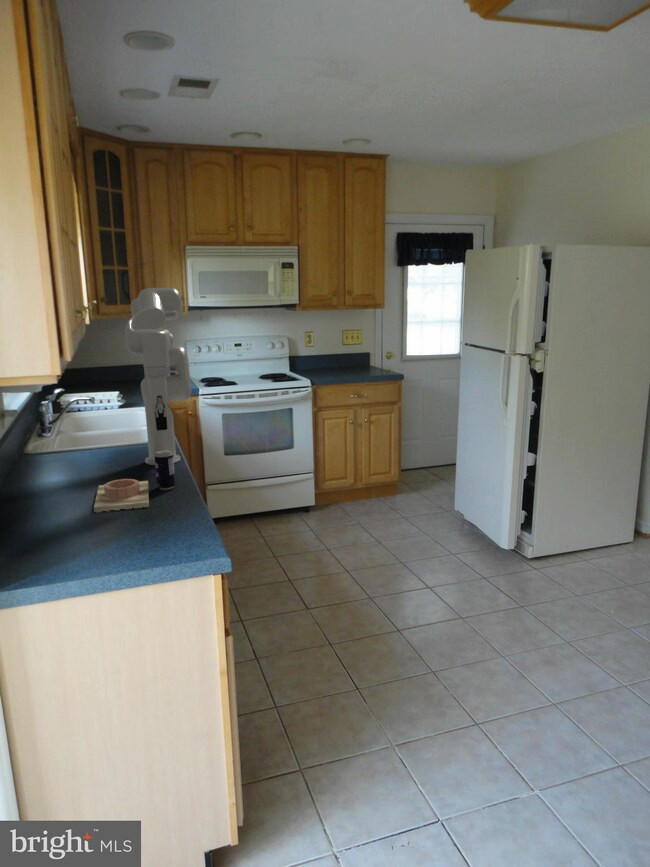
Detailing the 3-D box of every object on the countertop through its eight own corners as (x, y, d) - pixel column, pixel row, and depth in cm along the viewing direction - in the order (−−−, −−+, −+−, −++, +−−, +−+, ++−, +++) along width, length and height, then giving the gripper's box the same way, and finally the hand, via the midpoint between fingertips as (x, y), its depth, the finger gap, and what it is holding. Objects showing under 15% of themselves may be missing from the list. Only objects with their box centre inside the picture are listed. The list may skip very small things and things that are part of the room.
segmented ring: (106, 490, 195) (105, 480, 194) (139, 486, 197) (139, 477, 196) (104, 500, 185) (103, 490, 184) (139, 496, 188) (138, 486, 187)
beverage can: (168, 484, 204) (165, 448, 202) (179, 487, 201) (176, 450, 198) (153, 488, 200) (150, 452, 197) (164, 491, 197) (161, 454, 194)
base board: (99, 489, 200) (98, 485, 200) (148, 485, 204) (147, 480, 203) (94, 512, 179) (93, 507, 179) (149, 506, 183) (148, 501, 183)
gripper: (144, 369, 199) (148, 422, 203) (144, 375, 183) (149, 433, 187) (168, 368, 201) (172, 420, 205) (171, 374, 185) (175, 431, 189)
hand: (161, 426), depth 196 cm, fingers open, 9 cm apart
